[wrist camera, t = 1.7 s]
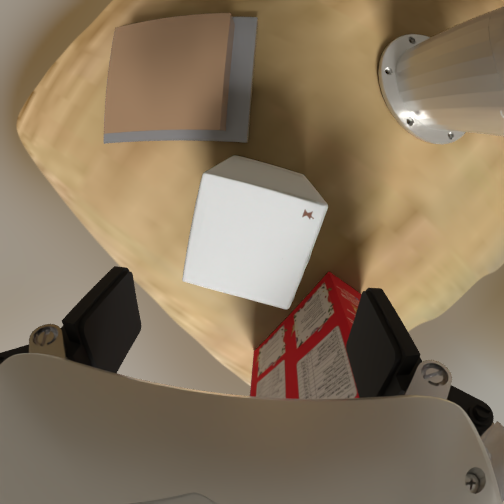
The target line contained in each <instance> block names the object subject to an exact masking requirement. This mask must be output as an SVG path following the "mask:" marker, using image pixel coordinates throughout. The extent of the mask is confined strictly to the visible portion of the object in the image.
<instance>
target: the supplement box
mask: <svg viewBox="0 0 504 504" xmlns="http://www.w3.org/2000/svg"><path fill="white" fill-rule="evenodd" d="M327 209H328V204H327V203H326V202H325V200H324V199H323V198H322V196H321V195H320V194H319V193H318V192H317V190H316V189H315V188H314V187H313V185H312V184H311V183H310V182H309V180H308V179H307V178H306V177H305V175H303V174H300V173H297V172H294V171H291V170H287V169H284V168H281V167H278V166H274V165H271V164H267V163H264V162H260V161H256V160H253V159H249V158H245V157H241V156H237V155H233V156H232V157H230V158H228V159H226V160H225V161H223V162H221V163H219V164H218V165H216V166H214V167H213V168H211V169H209V170H208V171H206V172H204V173H203V175H202V179H201V183H200V187H199V191H198V195H197V200H196V205H195V210H194V215H193V220H192V225H191V230H190V236H189V241H188V247H187V253H186V259H185V265H184V272H183V281H184V282H188V283H191V284H194V285H198V286H201V287H205V288H209V289H212V290H216V291H219V292H223V293H227V294H231V295H234V296H238V297H242V298H246V299H249V300H253V301H256V302H260V303H264V304H267V305H271V306H275V307H279V308H282V309H289V307H290V306H291V303H292V301H293V299H294V296H295V293H296V291H297V288H298V286H299V283H300V281H301V278H302V276H303V273H304V270H305V268H306V266H307V263H308V261H309V259H310V256H311V252H312V249H313V247H314V244H315V241H316V239H317V236H318V233H319V231H320V228H321V225H322V222H323V219H324V217H325V214H326V212H327Z"/></svg>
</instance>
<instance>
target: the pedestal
mask: <svg viewBox="0 0 504 504" xmlns="http://www.w3.org/2000/svg"><path fill="white" fill-rule="evenodd" d="M257 29H258V18H257V17H232V15H231V13H211V14H196V15H185V16H176V17H169V18H162V19H155V20H149V21H144V22H139V23H134V24H130V25H125V26H121V27H117V28H115V32H114V38H113V43H112V49H111V56H110V63H109V71H108V79H107V89H106V101H105V118H104V143H116V142H133V141H160V140H200V141H229V142H246V143H247V142H248V136H249V124H250V111H251V99H252V86H253V74H254V63H255V51H256V40H257Z"/></svg>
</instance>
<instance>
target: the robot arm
mask: <svg viewBox="0 0 504 504" xmlns="http://www.w3.org/2000/svg"><path fill="white" fill-rule="evenodd" d="M385 71H387V74H386V72H385ZM378 75H379V84H380V88H381V92H382V95H383V98H384V100H385V102H386V105H387V107H388V108H389V110H390V112H391V113H392V115H393V116H394V118H395V119H396V120H397V121H398V123H399V124H400V125H401V126H402V127H403V128H404V129H405V130H406V131H408V132H409V133H410V134H412V135H413V136H415V137H416V138H418V139H420V140H423V141H425V142H429V143H434V144H448V143H452V142H454V141H456V140H458V139H459V138H461V137H462V136H463V135H464V134H465V133H466V132H471V133H480V134H489V135H496V136H503V137H504V7H501V8H498V9H496V10H493V11H490V12H488V13H485V14H483V15H480V16H477V17H475V18H473V19H470V20H468V21H465V22H463V23H461V24H458V25H456V26H454V27H452V28H450V29H447V30H445V31H443V32H441V33H439V34H437V35H435V36H433V37H431V38H430V37H428V36H425V35H419V34H407V35H403V36H401V37H398V38H396V39H395V40H393V41H392V42H391V43H390V44H389V45H388V46H387V47H386V48H385V50H384V51H383V53H382V55H381V59H380V62H379V71H378ZM406 120H408V124H407V121H406ZM62 323H63V327H62V328H60V327H59V326H57V325H55V324H46V325H42V326H40V327H38V328H36V329H35V330H34V331H33V332H32V333H31V335H30V338H29V345H26V346H22V347H19V348H16V349H12V350H9V351H5V352H2V353H0V504H502V502H503V500H504V427H503V426H502V425H501V424H500V423H499V422H496V423H495V424H494V423H493V412H492V410H491V408H490V407H489V406H488V405H487V404H486V403H484V402H483V401H481V400H479V399H477V398H475V397H473V396H471V395H469V394H467V393H465V392H463V391H461V390H459V389H457V388H455V387H453V386H451V382H452V376H451V373H450V371H449V370H448V368H447V367H445V365H443V364H441V363H440V362H437V361H434V360H426V361H423V362H422V360H421V358H420V353H419V351H418V349H417V347H416V346H415V344H414V342H413V340H412V338H411V337H410V335H409V333H408V331H407V330H406V328H405V326H404V324H403V323H402V321H401V319H400V318H399V316H398V314H397V313H396V311H395V309H394V308H393V306H392V304H391V303H390V301H389V299H388V298H387V296H386V295H385V293H384V291H383V290H382V289H380V288H368V289H367V290H366V291H363V292H362V295H361V298H360V302H359V305H358V308H357V312H356V315H355V318H354V322H353V325H352V328H351V331H350V334H349V337H348V340H347V343H346V351H347V354H348V358H349V361H350V365H351V368H352V372H353V376H354V379H355V383H356V387H357V391H358V395H359V398H345V399H288V398H268V397H254V396H242V395H231V394H222V393H215V392H207V391H200V390H194V389H188V388H182V387H176V386H170V385H165V384H159V383H155V382H150V381H146V380H141V379H136V378H132V377H128V376H124V375H120V374H117V371H118V369H119V367H120V365H121V364H122V362H123V360H124V359H125V357H126V355H127V353H128V351H129V350H130V348H131V346H132V344H133V343H134V341H135V339H136V338H137V336H138V334H139V332H140V330H141V320H140V315H139V310H138V305H137V299H136V293H135V287H134V281H133V275H132V272H129V270H128V268H124V267H113V268H112V269H111V270H110V271H109V272H108V273H107V274H106V275H105V276H104V277H103V278H102V279H101V280H100V281H99V282H98V283H97V284H96V285H95V286H94V287H93V288H92V289H91V290H90V291H89V292H88V293H87V294H86V295H85V296H84V297H83V299H81V301H80V302H79V303H78V304H77V305H76V306H75V307H74V308H73V309H72V310H71V311H70V312H69V314H67V315H66V317H65V318H64V319H63V320H62Z"/></svg>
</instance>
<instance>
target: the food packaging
mask: <svg viewBox="0 0 504 504" xmlns="http://www.w3.org/2000/svg"><path fill="white" fill-rule="evenodd" d="M360 298H361V294H360V293H359V292H358V291H356V290H355V289H353V288H352V287H351V286H349V285H348V284H346V283H345V282H343V281H342V280H341V279H339V278H338V277H336V276H335V275H334V274H332V273H331V272H328V273H327V274H326V275H325V276H324V277H323V278H322V280H321V281H320V282H319V283H318V284H317V285H316V286H315V287H314V289H313V290H312V291H311V292H310V293H309V294H308V295H307V296H306V297H305V299H304V300H303V301H302V302H301V303H300V304H299V305H298V306H297V307H296V308H295V309H294V310H293V312H292V313H291V314H290V315H289V316H288V317H287V318H286V319H285V320H284V321H283V322H282V323H281V324H280V325H279V326H278V327H277V328H276V329H275V330H274V331H273V332H272V334H271V335H270V336H269V337H268V338H267V339H266V340H265V341H264V342H263V343H262V344H261V345H260V346H259V347H258V348H257V349H256V350H255V351H254V356H253V368H252V379H251V390H250V396H254V397H268V398H288V399H345V398H359V395H358V391H357V387H356V383H355V379H354V376H353V372H352V368H351V365H350V361H349V358H348V354H347V351H346V343H347V340H348V337H349V334H350V331H351V328H352V325H353V322H354V318H355V315H356V312H357V308H358V305H359V302H360Z"/></svg>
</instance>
